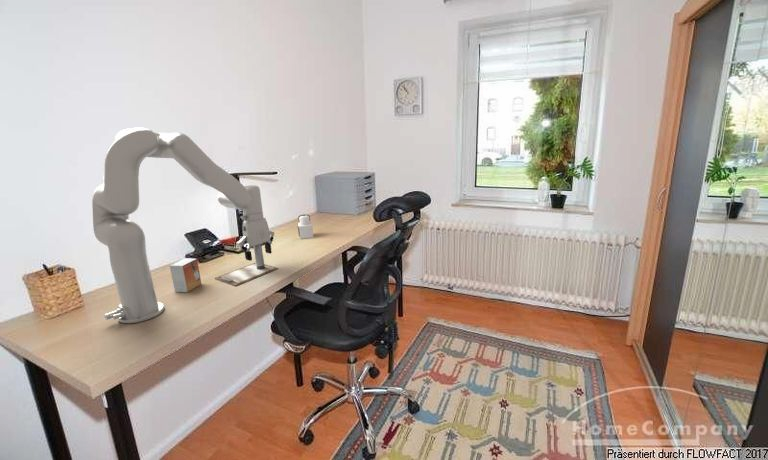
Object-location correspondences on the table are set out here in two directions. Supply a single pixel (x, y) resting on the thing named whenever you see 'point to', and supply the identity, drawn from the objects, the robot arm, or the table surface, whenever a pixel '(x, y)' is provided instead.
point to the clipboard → (244, 274)
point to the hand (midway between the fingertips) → (259, 256)
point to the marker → (259, 257)
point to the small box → (185, 275)
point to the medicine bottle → (305, 227)
